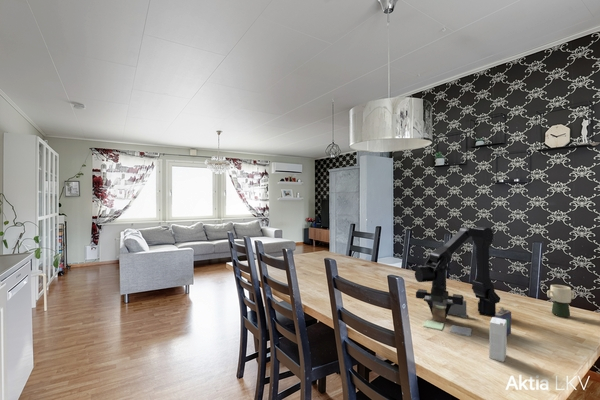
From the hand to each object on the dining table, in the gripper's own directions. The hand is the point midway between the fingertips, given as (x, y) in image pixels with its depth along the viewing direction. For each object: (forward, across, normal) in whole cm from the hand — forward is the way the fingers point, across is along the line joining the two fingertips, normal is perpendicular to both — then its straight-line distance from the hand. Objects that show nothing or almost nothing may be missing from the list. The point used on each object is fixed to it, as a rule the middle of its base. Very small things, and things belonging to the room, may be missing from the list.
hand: (439, 316), depth 132 cm
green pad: (+1, -1, -9) cm, 9 cm away
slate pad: (+1, +9, -9) cm, 13 cm away
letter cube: (+1, 0, 0) cm, 1 cm away
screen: (+1, +3, +9) cm, 10 cm away
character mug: (+1, +46, +32) cm, 56 cm away
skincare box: (+1, +21, -25) cm, 33 cm away
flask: (+2, +23, -5) cm, 24 cm away
